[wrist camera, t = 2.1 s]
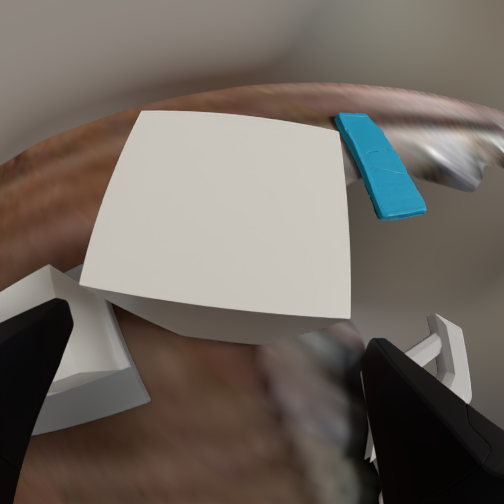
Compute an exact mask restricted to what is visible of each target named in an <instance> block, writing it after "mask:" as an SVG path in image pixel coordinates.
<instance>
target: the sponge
mask: <svg viewBox="0 0 504 504" xmlns="http://www.w3.org/2000/svg"><path fill="white" fill-rule="evenodd" d="M334 120H335V122H336V125H337V127H338V129H339V131H340V133H341V135H342V137H343V139H344V141H345V143H346V145H347V146H348V149H349V150H350V152H351V154H352V156H353V158H354V160H355V161H356V164H357V166H358V168H359V171H360V173H361V175H362V179H363V181H364V183H365V187H366V190H367V192H368V194H369V195H370V200H371V201H372V204H373V207H374V211H375V214H376V215H377V218H378V219H379V220H381V221H384V220H389V221H390V220H397V219H404V218H409V217H414V216H417V215H422V214H424V213H425V212H426V205H425V203H424V200H423V199H422V197H421V195H420V193H419V192H418V191H417V189H416V186H415V185H414V183H413V181H412V180H411V178H410V177H409V175H408V174H407V171H406V168H405V167H404V165H403V164H402V162H401V159H400V158H399V156H398V154H397V153H396V152H395V150H394V149H393V147H392V146H391V144H390V143H389V141H388V140H387V138H386V137H385V135H384V133H383V132H382V130H381V129H380V128H379V127H378V126H377V125H375V124H374V123H373V122H372V120H371V119H370V118H369V117H368V116H367V114H366V113H354V114H351V113H339V114H338V115H337V116H336V117H335V119H334Z"/></svg>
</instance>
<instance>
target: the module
mask: <svg viewBox="0 0 504 504" xmlns="http://www.w3.org/2000/svg"><path fill="white" fill-rule="evenodd" d="M349 243H350V242H349V224H348V209H347V197H346V186H345V176H344V167H343V158H342V150H341V143H340V135H339V132H338V131H334V130H329V129H324V128H320V127H315V126H309V125H304V124H299V123H293V122H287V121H280V120H274V119H267V118H259V117H251V116H242V115H233V114H221V113H208V112H189V111H141V113H140V115H139V117H138V119H137V121H136V123H135V125H134V127H133V129H132V131H131V133H130V136H129V138H128V140H127V142H126V144H125V146H124V149H123V151H122V153H121V156H120V158H119V160H118V163H117V165H116V168H115V170H114V172H113V175H112V178H111V180H110V183H109V185H108V188H107V191H106V193H105V196H104V199H103V202H102V205H101V208H100V211H99V214H98V217H97V220H96V223H95V226H94V229H93V233H92V236H91V239H90V243H89V246H88V250H87V254H86V257H85V261H84V265H83V269H82V273H81V278H80V282H79V285H80V286H82V287H84V288H86V289H87V290H89V291H91V292H93V293H95V294H96V295H98V296H100V297H102V298H104V299H106V300H108V301H110V302H111V303H113V304H115V305H117V306H119V307H121V308H123V309H125V310H127V311H129V312H131V313H133V314H135V315H137V316H139V317H142V318H144V319H146V320H148V321H150V322H152V323H154V324H157V325H159V326H161V327H163V328H165V329H168V330H170V331H172V332H174V333H177V334H179V335H181V336H187V337H194V338H201V339H209V340H217V341H225V342H234V343H244V344H254V345H265V344H269V343H272V342H276V341H280V340H283V339H287V338H290V337H294V336H297V335H301V334H304V333H308V332H311V331H314V330H317V329H321V328H324V327H327V326H330V325H333V324H336V323H339V322H342V321H345V320H348V319H350V311H351V310H350V309H351V308H350V307H351V302H350V301H351V284H350V283H351V281H350V280H351V278H350V277H351V276H350V244H349Z"/></svg>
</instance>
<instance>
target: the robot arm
mask: <svg viewBox="0 0 504 504" xmlns="http://www.w3.org/2000/svg"><path fill="white" fill-rule="evenodd" d="M73 327H74V321H73V317H72V314H71V310H70V306H69V303H68V301H67V300H65V299H61V298H53V299H51V300H49V301H46V302H44V303H42V304H40V305H37V306H35V307H33V308H31V309H29V310H26V311H24V312H22V313H20V314H18V315H15V316H13V317H11V318H9V319H7V320H5V321H2V322H0V504H13V501H14V496H15V492H16V487H17V483H18V479H19V475H20V471H21V467H22V464H23V460H24V457H25V454H26V450H27V447H28V444H29V441H30V438H31V435H32V432H33V429H34V427H35V424H36V421H37V418H38V416H39V413H40V411H41V408H42V406H43V403H44V401H45V398H46V396H47V393H48V391H49V389H50V386H51V384H52V382H53V380H54V377H55V375H56V373H57V370H58V368H59V365H60V363H61V360H62V357H63V354H64V352H65V349H66V346H67V343H68V341H69V338H70V335H71V333H72V330H73ZM361 371H362V379H363V387H364V396H365V404H366V410H367V415H368V420H369V424H370V429H371V434H372V439H373V444H374V449H375V455H376V460H377V466H378V472H379V478H380V484H381V491H382V498H383V504H504V430H503V429H501V428H500V427H498V426H497V425H495V424H494V423H493V422H491V421H490V420H488V419H487V418H485V417H484V416H483V415H482V414H480V413H479V412H478V411H476V410H475V409H474V408H473V407H471V406H470V405H469V404H468V403H466V402H465V401H464V400H463V399H461V398H460V397H459V396H458V395H456V394H455V393H454V392H453V391H451V390H450V389H449V388H448V387H446V386H445V385H444V384H443V383H441V382H440V381H439V380H438V379H436V378H435V377H434V376H433V375H431V374H430V373H429V372H427V371H426V370H425V369H424V368H422V367H421V366H420V365H419V364H417V363H416V362H415V361H413V360H412V359H411V358H410V357H408V356H407V355H406V354H405V353H403V352H402V351H400V350H399V349H398V348H397V347H396V346H394V345H393V344H392V343H390V342H389V341H388V340H386V339H385V338H373V339H371V340H370V342H369V344H368V346H367V348H366V350H365V352H364V354H363V356H362V358H361Z"/></svg>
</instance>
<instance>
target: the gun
mask: <svg viewBox="0 0 504 504" xmlns="http://www.w3.org/2000/svg"><path fill="white" fill-rule="evenodd" d="M427 320H428V324H429V328H430V333H431V335H430V336H428V337H426V338H425V339H423V340H422V341H420V342H419V343H417V344H416V345H414V346H413V347H412V348H410V349H408V350H407V351H405V352H403V353H405V354H406V355H407V356H408V357H410V358H411V359H412V360H413V361H415V362H416V363H417V364H419V365H420V366H421V367H423V366H424V365H425V364H427V363H428V362H429V361H431V360H432V359H433V358H436V364H437V370H438V374H437V376H436V379H438V380H439V381H440V382H441V383H443V384H444V385H445V386H446V387H448V388H449V389H450V390H451V391H453V392H454V393H455V394H456V395H458V396H459V397H460V398H461V399H463V400H464V401H465V402H466V403H468V404H469V402H470V400H471V396H472V394H471V384H470V376H469V369H468V362H467V356H466V350H465V345H464V339H463V334H462V330H461V328H459V327H458V326H456V325H454V324H453V323H451V322H449V321H447V320H446V319H444V318H442V317H441V316H439V315H437V314H435V313H434V314H431V315H429V316H427ZM360 374H361V380H362V385H363V379H362V371H361V372H360ZM363 391H364V387H363ZM364 398H365V396H364ZM367 417H368V415H367ZM368 425H369V433H368V440H367V446H366V453H365V458H364V459H367V458H368V457H370V462H371V461H373V463H374V465H375V467H376V469H377V472H378V466H377V460H376V455H375V449H374V444H373V439H372V434H371V429H370V424H369V420H368ZM378 474H379V472H378ZM379 504H383V498H382V491H381V493H380V495H379Z"/></svg>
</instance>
